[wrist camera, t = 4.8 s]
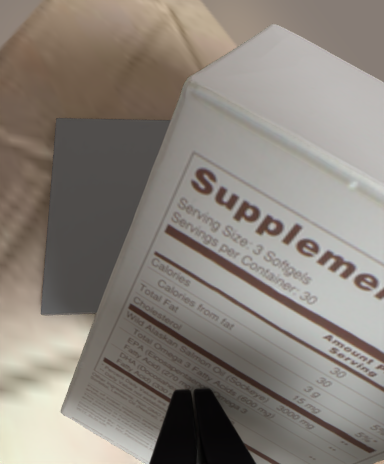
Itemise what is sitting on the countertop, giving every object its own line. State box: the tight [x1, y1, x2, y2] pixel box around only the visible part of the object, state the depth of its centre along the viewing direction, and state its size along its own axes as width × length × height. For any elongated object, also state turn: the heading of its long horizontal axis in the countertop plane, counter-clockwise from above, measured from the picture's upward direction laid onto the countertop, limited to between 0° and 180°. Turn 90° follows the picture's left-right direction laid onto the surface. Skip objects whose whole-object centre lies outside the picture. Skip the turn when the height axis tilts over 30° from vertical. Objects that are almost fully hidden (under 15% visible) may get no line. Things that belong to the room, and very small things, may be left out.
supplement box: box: [61, 24, 384, 464], centre depth 11 cm, size 7×7×13 cm
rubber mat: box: [41, 118, 171, 315], centre depth 20 cm, size 11×10×1 cm
